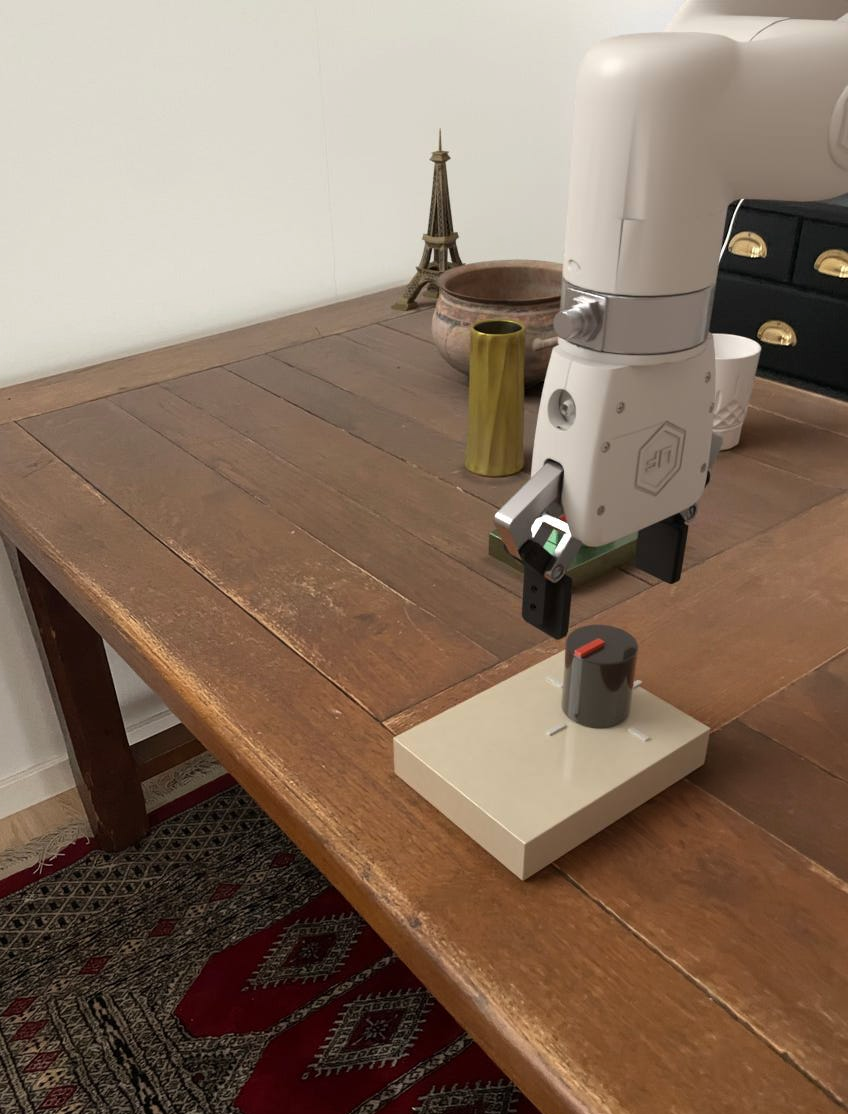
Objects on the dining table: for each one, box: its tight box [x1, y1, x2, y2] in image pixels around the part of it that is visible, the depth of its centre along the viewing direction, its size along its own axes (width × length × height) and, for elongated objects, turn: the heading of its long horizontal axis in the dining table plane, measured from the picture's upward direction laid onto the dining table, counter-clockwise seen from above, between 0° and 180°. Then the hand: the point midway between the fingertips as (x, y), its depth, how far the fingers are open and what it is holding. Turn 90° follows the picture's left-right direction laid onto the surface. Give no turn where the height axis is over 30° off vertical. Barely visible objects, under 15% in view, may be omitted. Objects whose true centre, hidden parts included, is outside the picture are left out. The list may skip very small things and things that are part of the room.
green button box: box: [488, 518, 638, 591], centre depth 88 cm, size 12×9×4 cm
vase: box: [464, 319, 526, 478], centre depth 101 cm, size 6×6×14 cm
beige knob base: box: [392, 649, 711, 882], centre depth 65 cm, size 16×12×3 cm
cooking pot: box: [431, 258, 563, 390], centre depth 122 cm, size 25×19×12 cm
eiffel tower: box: [390, 129, 467, 312], centre depth 146 cm, size 11×11×25 cm
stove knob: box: [561, 624, 639, 728], centre depth 65 cm, size 4×4×5 cm
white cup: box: [711, 333, 762, 451], centre depth 105 cm, size 8×8×10 cm
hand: (602, 600), depth 62 cm, fingers open, 9 cm apart
